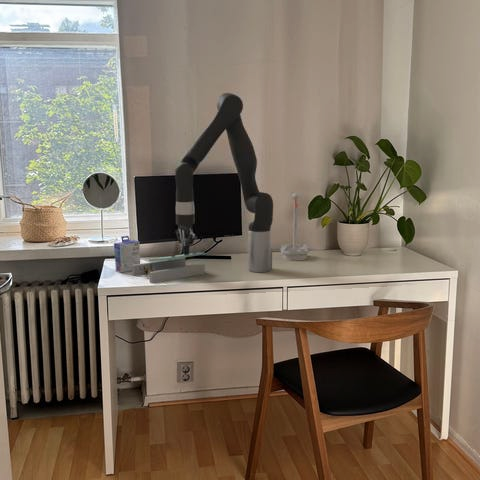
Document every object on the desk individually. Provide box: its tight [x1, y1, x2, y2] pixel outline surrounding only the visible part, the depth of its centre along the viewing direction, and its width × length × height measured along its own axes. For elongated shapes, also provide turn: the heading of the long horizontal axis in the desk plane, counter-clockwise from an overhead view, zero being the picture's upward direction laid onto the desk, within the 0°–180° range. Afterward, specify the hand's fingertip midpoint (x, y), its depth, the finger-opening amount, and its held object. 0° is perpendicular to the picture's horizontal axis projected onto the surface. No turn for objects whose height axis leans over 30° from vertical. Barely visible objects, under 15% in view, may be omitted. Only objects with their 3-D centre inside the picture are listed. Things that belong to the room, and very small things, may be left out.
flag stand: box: [280, 192, 310, 261], centre depth 285 cm, size 13×13×30 cm
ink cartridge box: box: [113, 235, 141, 273], centre depth 265 cm, size 10×6×14 cm, turn 131°
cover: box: [148, 252, 205, 262], centre depth 259 cm, size 17×17×1 cm
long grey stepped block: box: [131, 257, 206, 284], centre depth 258 cm, size 25×17×4 cm
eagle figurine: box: [139, 264, 155, 280], centre depth 251 cm, size 8×7×9 cm
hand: (186, 254), depth 253 cm, fingers closed
